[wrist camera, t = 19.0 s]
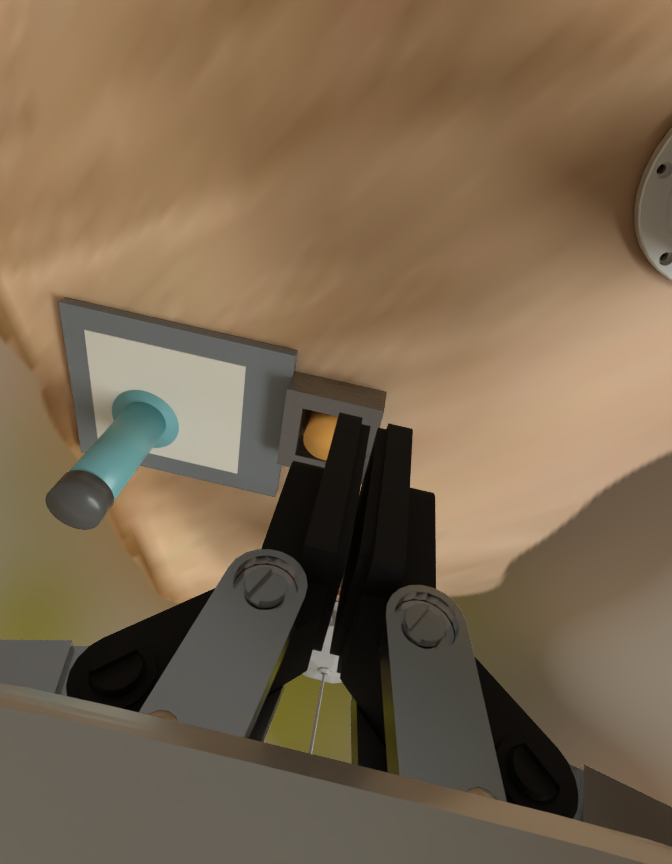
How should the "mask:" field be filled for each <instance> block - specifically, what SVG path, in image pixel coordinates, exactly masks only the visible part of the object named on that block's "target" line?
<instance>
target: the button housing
mask: <svg viewBox="0 0 672 864" xmlns="http://www.w3.org/2000/svg"><path fill="white" fill-rule="evenodd" d="M386 393H387V392H383V391H379V390H374V389H370V388H365V387H361V386H357V385H352V384H348V383H344V382H339V381H335V380H331V379H326V378H322V377H317V376H313V375H309V374H304V373H300V372H296V371H295V372H294V374H293V377H292V379H291V381H290V383H289V386H288V388H287V392H286V400H285V407H284V414H283V422H282V429H281V436H280V443H279V451H278V458H277V464H279V465H283V466H287V467H290V466H291V464H292V462H293V461H297V462H302V463H306V464H310V465H315V466H319V467H323V468H325V464H326V461H327V460H322V459H319V458H316V457H315V456H313V455H312V454H311V453H309V452H308V450H307V449H306V447H305V445H304V441H303V437H304V436H302V432H303V426H304V420H305V414H306V409H307V410H311V411H316V412H320V413H325V414H329V415H333V416H338V415H339V412H341V413H345V414H349V415H354V416H358V417H362V418H363V419H362V424H364V425H369V426H371V427H370V433H369V439H368V445H367V451H366V457H365V462H364V468H363V474H362V480H361V484H362V483H363V479H364V476H365V472H366V468H367V465H368V461H369V457H370V454H371V450H372V447H373V443H374V439H375V436H376V432H377V429H378V428H380V424H381V420H382V417H383V413H384V407H385V400H386Z"/></svg>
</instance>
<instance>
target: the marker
mask: <svg viewBox="0 0 672 864" xmlns="http://www.w3.org/2000/svg"><path fill="white" fill-rule="evenodd" d="M165 429H166V421H165V419H164V417H163V415H162V414H161V412H160V411H159V410H158V409H157V408H155V407H154V406H152V405H150V404H148V403H145V402H133V403H131V404H129V405H128V406H127V407H126V408H125V409H124V410H123V412H122V413H121V414H120V415H119V416H118V417H117V418H116V419H115V420H114V422H113V423H112V424H111V425H110V426H109V427H108V428H107V429H106V431H105V432H104V433H103V434H102V435H101V436H100V437H99V438H98V440H97V441H96V442H95V443H94V444H93V445H92V446H91V447H90V448H89V450H88V451H87V452H86V453H85V454H84V455H83V456H82V457H81V459H80V460H79V461H78V462H77V463H76V464H75V465H74V466H73V468H72V469H71V470H70V471H69V472H67V473H66V474H65V475H64V476H63V477H62V478H61V479H60V480H59V481H58V482H57V484H56V485H55V486H54V487H53V488H52V489H51V490H50V491H49V492H48V493H47V496H46V504H47V507H48V509H49V510H50V512H51V513H52V514H53V515H54V516H55V517H56V518H57V519H58V520H60V521H61V522H62V523H64V524H66V525H68V526H70V527H73V528H77V529H83V530H87V529H92V528H95V527H96V526H97V525H98V524H99V523H100V522H101V520H102V519H103V517H104V516H105V515H106V513H107V512H108V511H109V509H110V508H111V506H112V505H113V503H114V500H115V499H116V497H117V496H118V495H119V493H120V492H121V490H122V489H123V488H124V486H125V485H126V484H127V482H128V481H129V479H130V478H131V477H132V475H133V474H134V473H135V471H136V470H137V469H138V467H139V466H140V464H141V463H142V462H143V460H144V459H145V458H146V456H147V455H148V453H149V452H150V451H151V449H152V448H153V447H154V445H155V444H156V442H157V441H158V440H159V438H160V437H161V436H162V434H163V433H164V431H165Z"/></svg>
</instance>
